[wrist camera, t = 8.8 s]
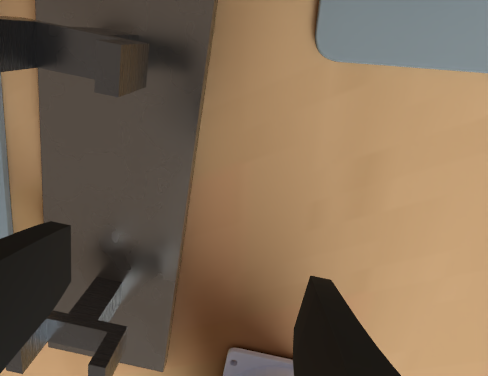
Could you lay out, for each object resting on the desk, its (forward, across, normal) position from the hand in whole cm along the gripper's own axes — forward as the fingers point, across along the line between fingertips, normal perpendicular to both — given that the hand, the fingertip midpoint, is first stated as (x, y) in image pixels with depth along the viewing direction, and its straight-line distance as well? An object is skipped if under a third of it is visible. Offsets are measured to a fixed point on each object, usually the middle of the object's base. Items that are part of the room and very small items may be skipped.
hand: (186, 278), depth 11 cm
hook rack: (+9, +6, +2) cm, 11 cm away
